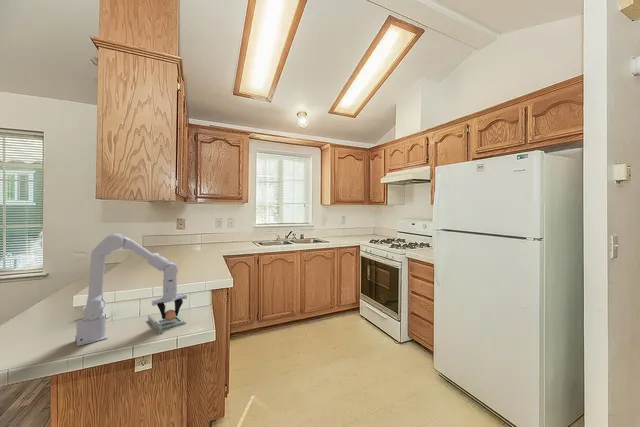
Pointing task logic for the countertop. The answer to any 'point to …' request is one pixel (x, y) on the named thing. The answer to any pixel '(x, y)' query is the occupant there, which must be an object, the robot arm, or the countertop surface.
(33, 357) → the countertop surface
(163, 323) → the pad
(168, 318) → the ball
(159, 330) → the acrylic wall
